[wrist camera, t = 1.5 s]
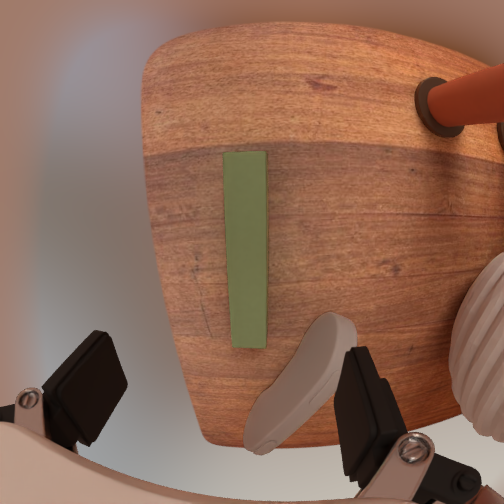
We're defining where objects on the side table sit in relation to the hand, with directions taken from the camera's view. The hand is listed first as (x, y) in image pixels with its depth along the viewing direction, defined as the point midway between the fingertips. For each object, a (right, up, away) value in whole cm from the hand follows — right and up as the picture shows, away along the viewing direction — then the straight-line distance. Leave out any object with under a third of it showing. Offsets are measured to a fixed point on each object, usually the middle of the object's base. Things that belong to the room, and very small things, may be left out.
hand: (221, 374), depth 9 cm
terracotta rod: (+19, +18, +8) cm, 27 cm away
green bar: (+1, +5, +14) cm, 15 cm away
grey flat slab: (+5, -8, +19) cm, 21 cm away
